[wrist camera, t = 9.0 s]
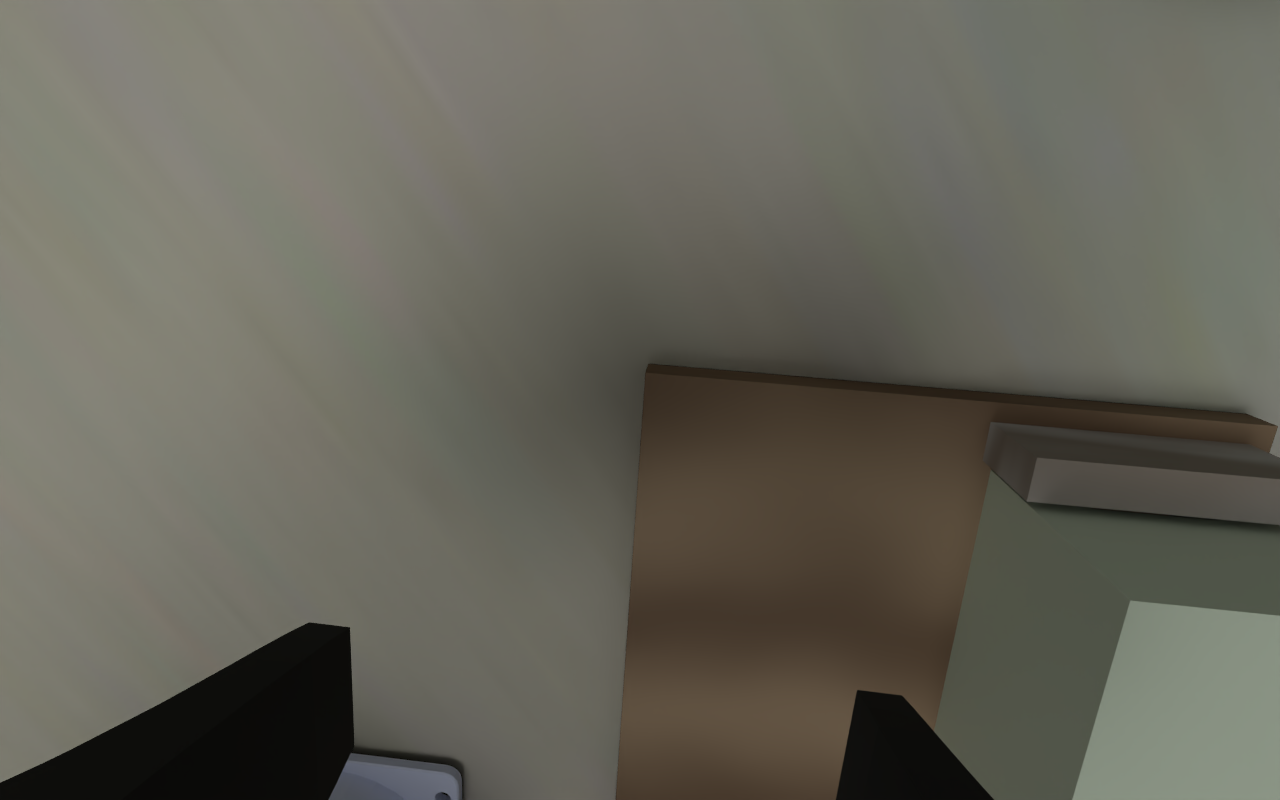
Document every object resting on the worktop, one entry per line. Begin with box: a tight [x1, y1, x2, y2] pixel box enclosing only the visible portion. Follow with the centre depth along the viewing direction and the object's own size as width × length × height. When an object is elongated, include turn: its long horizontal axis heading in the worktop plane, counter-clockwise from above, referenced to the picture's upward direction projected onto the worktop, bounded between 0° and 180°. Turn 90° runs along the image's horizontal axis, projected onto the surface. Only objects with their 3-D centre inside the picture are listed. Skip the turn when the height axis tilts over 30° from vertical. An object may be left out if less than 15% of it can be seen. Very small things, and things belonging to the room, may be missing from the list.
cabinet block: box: [934, 470, 1280, 800], centre depth 16 cm, size 8×6×6 cm
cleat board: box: [616, 364, 1280, 800], centre depth 19 cm, size 15×15×4 cm
